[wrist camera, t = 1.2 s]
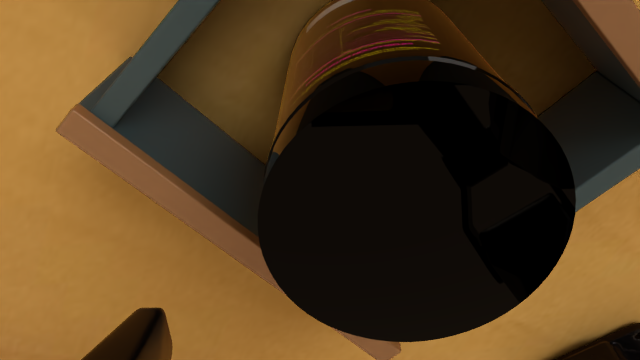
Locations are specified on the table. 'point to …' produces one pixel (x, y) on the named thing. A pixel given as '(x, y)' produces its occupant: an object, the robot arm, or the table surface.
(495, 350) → the table surface
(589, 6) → the crate
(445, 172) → the supplement container
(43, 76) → the table surface
